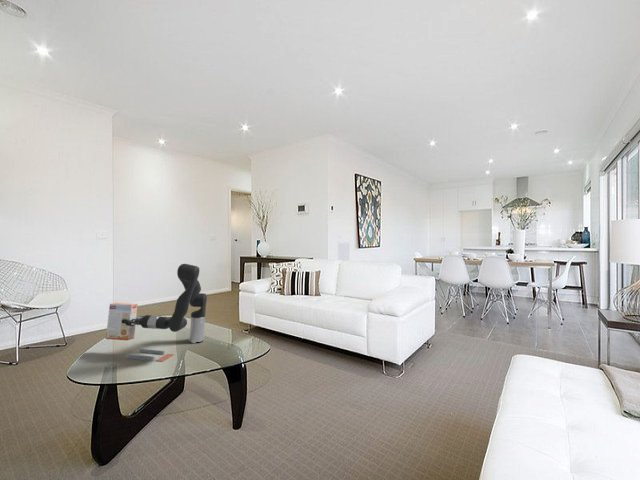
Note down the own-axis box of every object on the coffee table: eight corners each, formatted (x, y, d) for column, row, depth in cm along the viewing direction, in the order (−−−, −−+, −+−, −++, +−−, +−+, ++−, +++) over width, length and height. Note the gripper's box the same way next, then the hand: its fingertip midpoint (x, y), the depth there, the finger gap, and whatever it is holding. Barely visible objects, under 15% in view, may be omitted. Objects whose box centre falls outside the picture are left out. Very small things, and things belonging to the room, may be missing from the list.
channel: (140, 351, 184) (140, 348, 184) (164, 354, 183) (164, 350, 183) (127, 357, 174) (127, 354, 174) (152, 360, 172) (153, 357, 172)
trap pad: (167, 354, 183) (167, 353, 183) (173, 354, 182) (173, 354, 182) (155, 361, 172) (155, 360, 172) (162, 361, 171) (162, 361, 171)
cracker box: (134, 338, 182) (138, 303, 184) (127, 340, 176) (131, 304, 178) (112, 337, 183) (116, 302, 185) (105, 339, 177) (109, 303, 179)
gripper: (160, 312, 186) (135, 310, 187) (144, 318, 171) (117, 316, 173) (159, 325, 186) (134, 322, 187) (143, 331, 171) (116, 329, 173)
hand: (126, 319), depth 180 cm, fingers closed on cracker box, 6 cm apart
